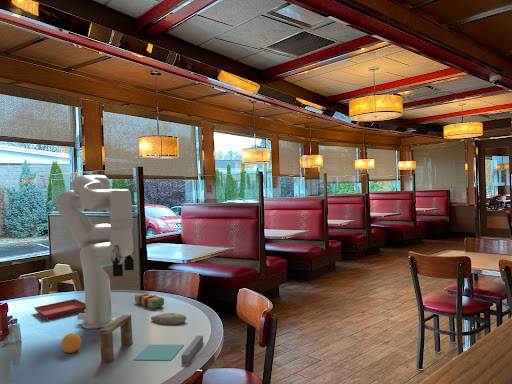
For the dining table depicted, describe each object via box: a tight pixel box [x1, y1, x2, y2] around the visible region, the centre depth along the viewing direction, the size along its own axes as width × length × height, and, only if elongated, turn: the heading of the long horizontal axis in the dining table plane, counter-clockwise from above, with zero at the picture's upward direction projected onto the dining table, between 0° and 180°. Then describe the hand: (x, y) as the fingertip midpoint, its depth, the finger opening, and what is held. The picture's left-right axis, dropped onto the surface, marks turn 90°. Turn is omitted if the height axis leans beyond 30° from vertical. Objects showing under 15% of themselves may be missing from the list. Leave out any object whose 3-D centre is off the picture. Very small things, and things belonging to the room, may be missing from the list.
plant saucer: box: [33, 298, 86, 320], centre depth 184 cm, size 18×18×3 cm
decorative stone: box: [150, 312, 187, 325], centre depth 162 cm, size 6×16×3 cm, turn 73°
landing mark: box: [133, 344, 185, 362], centre depth 131 cm, size 12×12×1 cm
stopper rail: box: [180, 335, 204, 365], centre depth 130 cm, size 2×16×2 cm, turn 171°
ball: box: [60, 332, 82, 354], centre depth 136 cm, size 6×6×6 cm
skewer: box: [134, 293, 165, 310], centre depth 187 cm, size 21×6×5 cm, turn 45°
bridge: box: [99, 314, 133, 363], centre depth 133 cm, size 3×15×10 cm, turn 171°
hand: (123, 272), depth 147 cm, fingers open, 9 cm apart
